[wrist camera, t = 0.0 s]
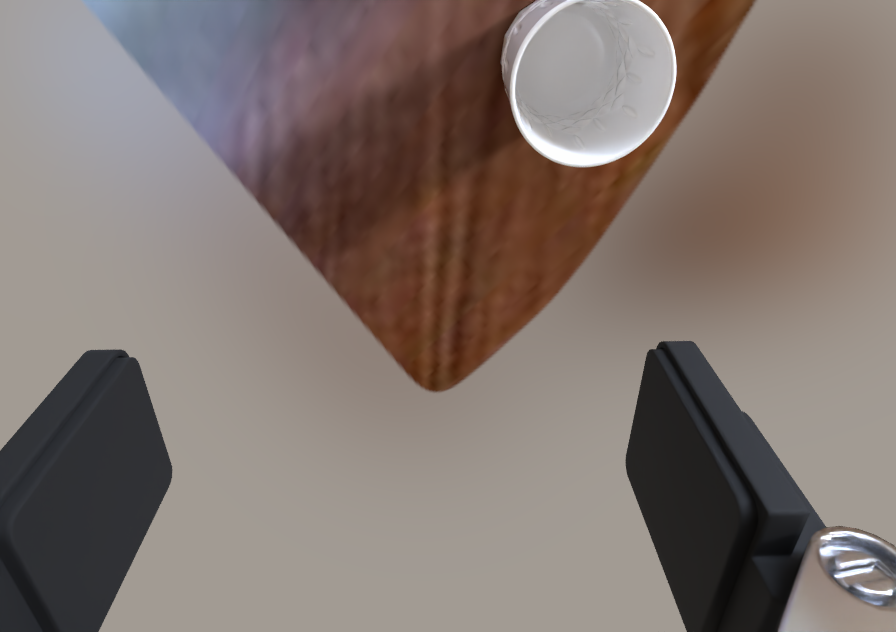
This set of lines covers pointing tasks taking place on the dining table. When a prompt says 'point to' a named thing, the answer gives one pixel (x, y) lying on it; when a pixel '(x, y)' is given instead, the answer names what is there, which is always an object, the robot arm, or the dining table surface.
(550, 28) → the white cup
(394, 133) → the dining table surface
